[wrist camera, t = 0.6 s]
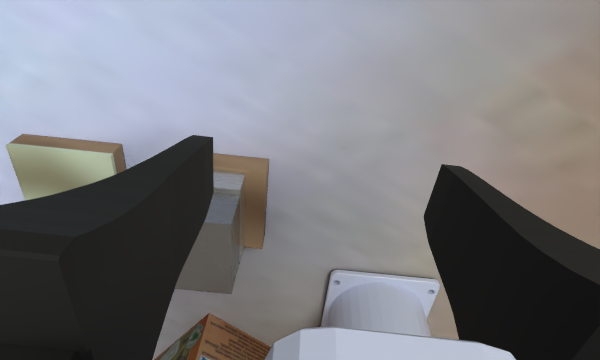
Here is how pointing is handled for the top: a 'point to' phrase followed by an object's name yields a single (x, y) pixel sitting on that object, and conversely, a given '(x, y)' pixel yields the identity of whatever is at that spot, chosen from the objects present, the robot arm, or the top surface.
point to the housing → (218, 238)
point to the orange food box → (215, 343)
